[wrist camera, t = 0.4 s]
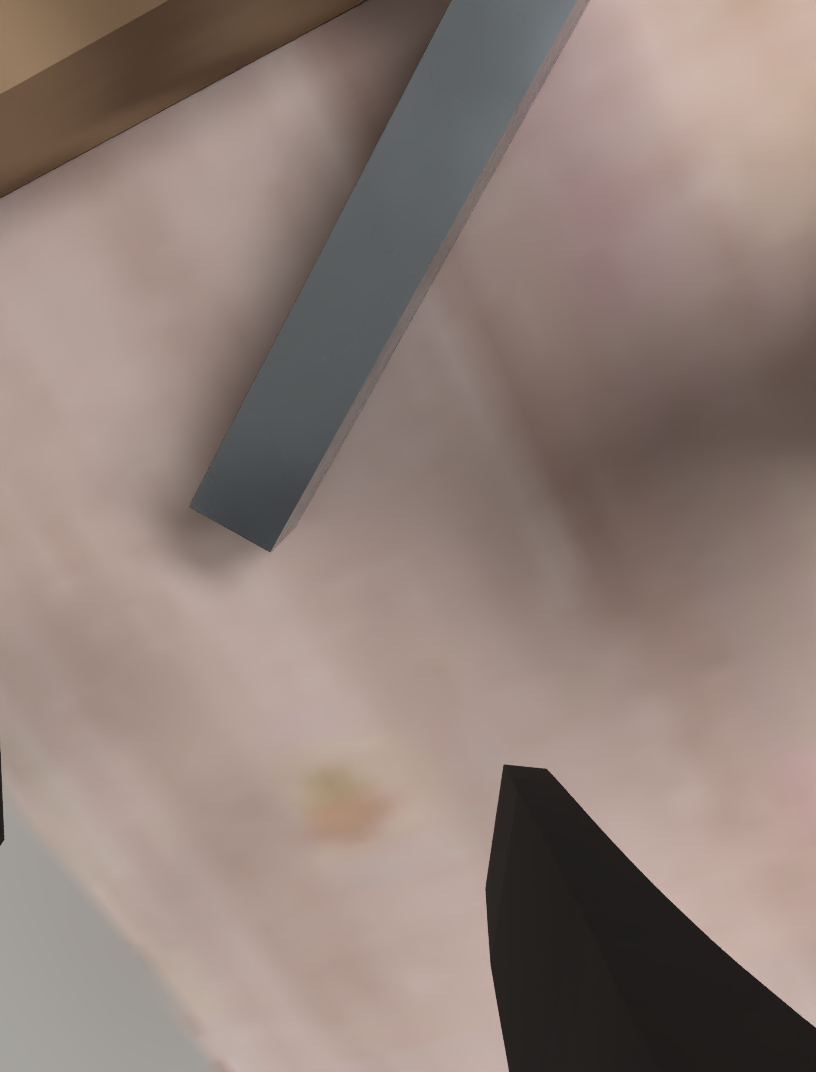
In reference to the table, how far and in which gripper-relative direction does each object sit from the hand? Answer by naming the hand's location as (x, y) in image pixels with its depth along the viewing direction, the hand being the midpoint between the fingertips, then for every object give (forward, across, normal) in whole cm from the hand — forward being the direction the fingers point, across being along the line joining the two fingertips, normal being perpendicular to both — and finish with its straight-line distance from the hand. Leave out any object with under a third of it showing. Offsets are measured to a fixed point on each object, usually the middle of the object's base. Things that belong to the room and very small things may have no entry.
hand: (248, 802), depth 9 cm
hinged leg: (+9, -1, -9) cm, 13 cm away
